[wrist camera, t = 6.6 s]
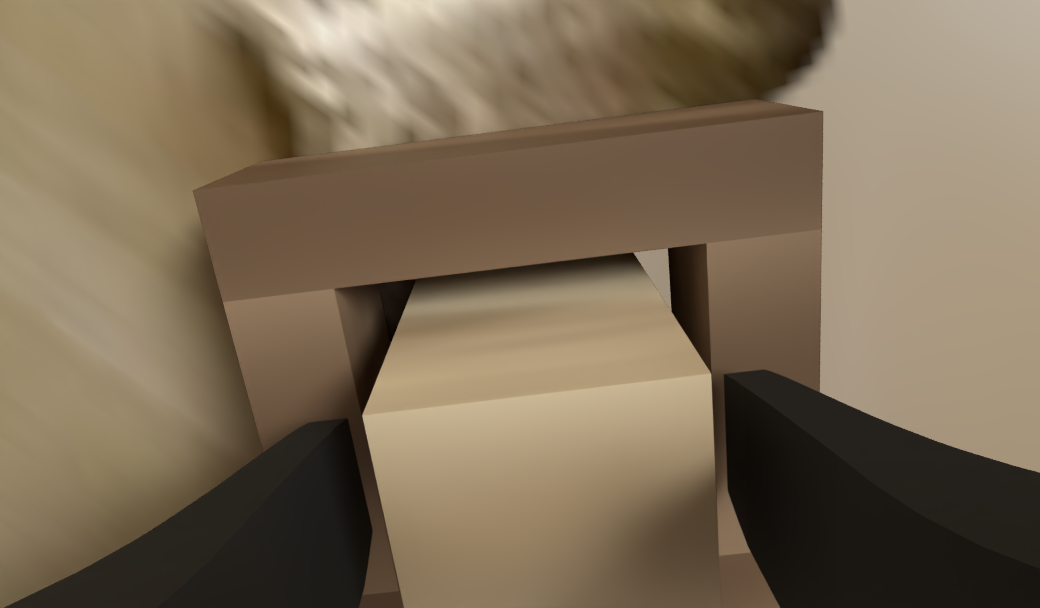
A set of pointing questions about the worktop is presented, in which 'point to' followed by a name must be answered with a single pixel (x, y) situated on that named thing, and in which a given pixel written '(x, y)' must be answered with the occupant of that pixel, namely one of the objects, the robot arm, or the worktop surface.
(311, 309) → the brown square frame
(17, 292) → the worktop surface
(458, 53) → the worktop surface
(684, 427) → the oak block
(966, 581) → the robot arm
